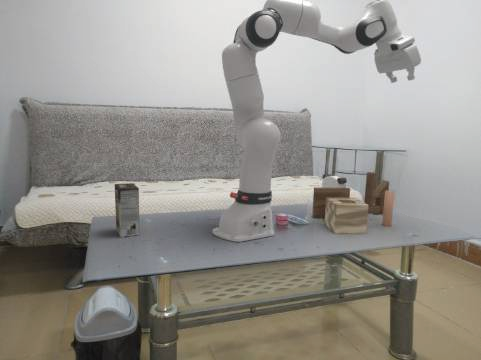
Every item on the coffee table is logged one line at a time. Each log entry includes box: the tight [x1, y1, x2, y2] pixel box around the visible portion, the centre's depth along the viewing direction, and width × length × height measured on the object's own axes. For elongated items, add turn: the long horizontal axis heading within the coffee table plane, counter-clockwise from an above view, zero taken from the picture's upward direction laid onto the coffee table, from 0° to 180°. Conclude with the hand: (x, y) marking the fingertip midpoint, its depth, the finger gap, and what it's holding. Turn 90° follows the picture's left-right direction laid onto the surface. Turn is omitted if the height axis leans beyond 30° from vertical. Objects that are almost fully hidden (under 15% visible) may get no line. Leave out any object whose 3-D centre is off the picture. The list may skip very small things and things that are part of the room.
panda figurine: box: [321, 173, 348, 188], centre depth 163 cm, size 12×11×15 cm
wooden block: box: [364, 171, 390, 215], centre depth 157 cm, size 4×11×18 cm, turn 114°
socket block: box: [324, 197, 369, 234], centre depth 130 cm, size 11×11×10 cm
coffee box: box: [114, 183, 140, 238], centre depth 121 cm, size 9×6×16 cm
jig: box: [311, 187, 351, 219], centre depth 134 cm, size 23×16×13 cm
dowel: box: [381, 190, 395, 227], centre depth 136 cm, size 3×3×14 cm
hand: (402, 80), depth 135 cm, fingers open, 8 cm apart
